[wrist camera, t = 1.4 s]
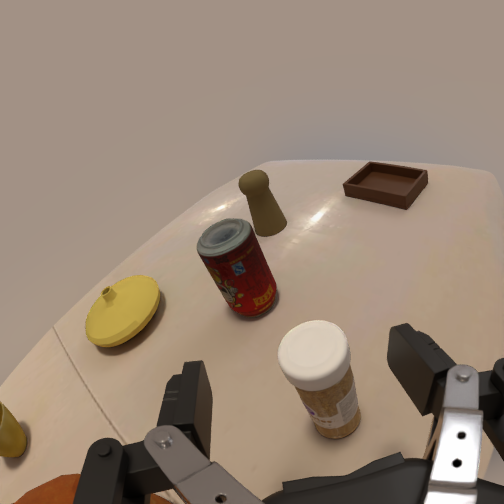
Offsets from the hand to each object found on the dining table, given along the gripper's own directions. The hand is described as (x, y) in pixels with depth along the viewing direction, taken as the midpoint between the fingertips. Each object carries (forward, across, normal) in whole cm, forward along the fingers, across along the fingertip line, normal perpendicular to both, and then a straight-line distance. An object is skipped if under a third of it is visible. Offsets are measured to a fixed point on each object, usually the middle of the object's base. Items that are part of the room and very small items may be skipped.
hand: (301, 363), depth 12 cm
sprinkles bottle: (+9, -5, +16) cm, 19 cm away
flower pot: (+14, +45, +27) cm, 54 cm away
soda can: (+29, +1, +11) cm, 31 cm away
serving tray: (+42, -26, 0) cm, 50 cm away
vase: (+36, +23, +15) cm, 45 cm away
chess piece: (+45, -4, +5) cm, 46 cm away
